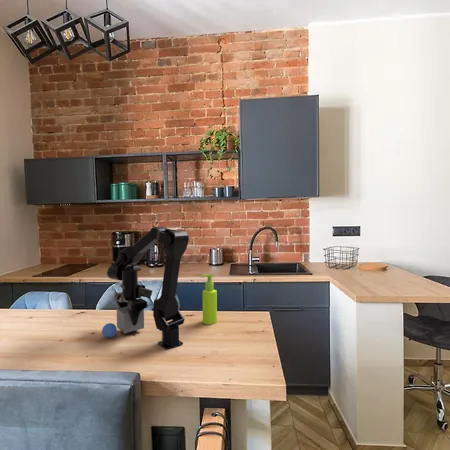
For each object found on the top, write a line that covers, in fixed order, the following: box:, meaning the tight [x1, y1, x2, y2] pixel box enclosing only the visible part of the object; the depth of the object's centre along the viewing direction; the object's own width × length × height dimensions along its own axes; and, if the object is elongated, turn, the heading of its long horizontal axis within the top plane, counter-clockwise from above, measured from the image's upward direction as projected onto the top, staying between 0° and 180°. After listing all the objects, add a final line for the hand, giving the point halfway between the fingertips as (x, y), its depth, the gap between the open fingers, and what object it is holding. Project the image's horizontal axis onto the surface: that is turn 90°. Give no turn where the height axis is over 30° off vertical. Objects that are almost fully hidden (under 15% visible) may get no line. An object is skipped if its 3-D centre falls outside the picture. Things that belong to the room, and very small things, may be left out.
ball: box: [101, 322, 118, 338], centre depth 111 cm, size 5×5×5 cm
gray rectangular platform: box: [116, 306, 145, 334], centre depth 116 cm, size 8×8×7 cm
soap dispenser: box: [199, 273, 218, 325], centre depth 126 cm, size 6×7×20 cm
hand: (130, 322), depth 116 cm, fingers closed on gray rectangular platform, 8 cm apart
